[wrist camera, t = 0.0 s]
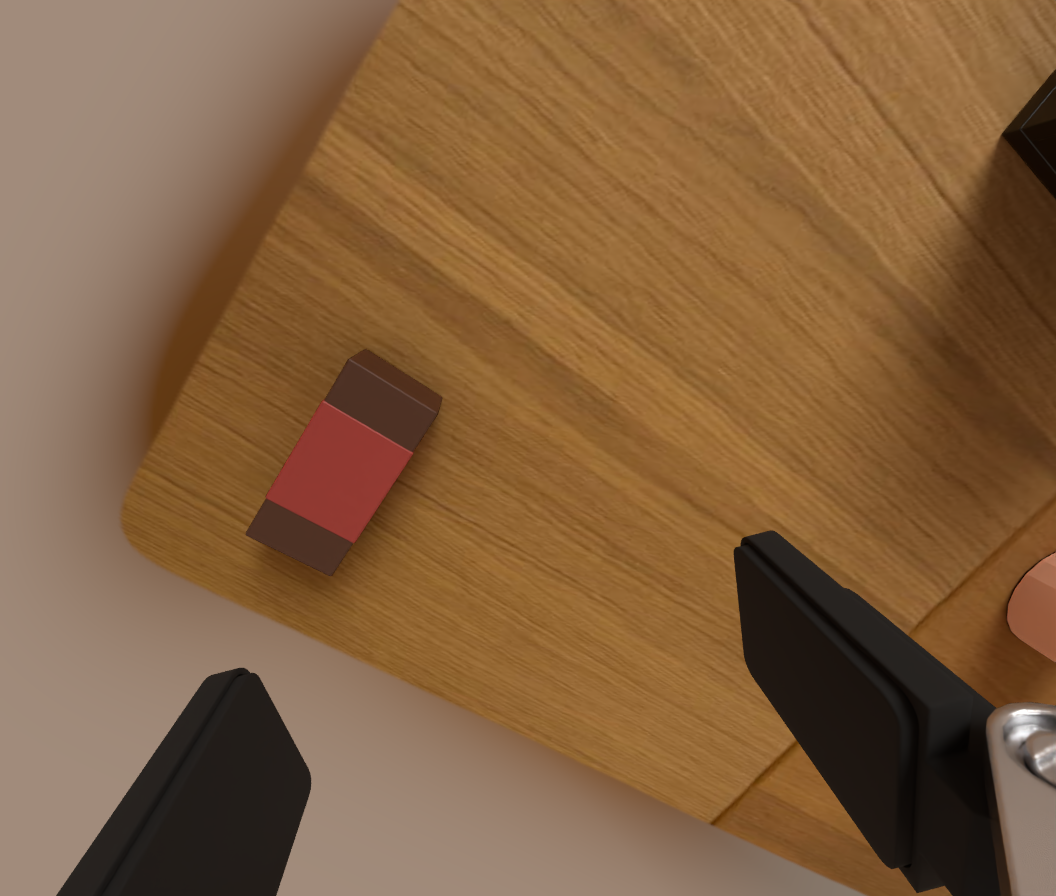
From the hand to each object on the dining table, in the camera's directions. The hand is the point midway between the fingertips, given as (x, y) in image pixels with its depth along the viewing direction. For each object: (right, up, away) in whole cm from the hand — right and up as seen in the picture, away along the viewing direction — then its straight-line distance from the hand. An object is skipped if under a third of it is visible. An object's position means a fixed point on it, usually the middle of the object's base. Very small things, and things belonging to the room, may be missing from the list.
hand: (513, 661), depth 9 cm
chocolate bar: (-8, +4, +14) cm, 16 cm away
